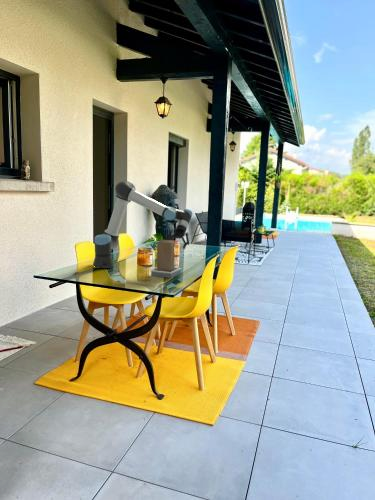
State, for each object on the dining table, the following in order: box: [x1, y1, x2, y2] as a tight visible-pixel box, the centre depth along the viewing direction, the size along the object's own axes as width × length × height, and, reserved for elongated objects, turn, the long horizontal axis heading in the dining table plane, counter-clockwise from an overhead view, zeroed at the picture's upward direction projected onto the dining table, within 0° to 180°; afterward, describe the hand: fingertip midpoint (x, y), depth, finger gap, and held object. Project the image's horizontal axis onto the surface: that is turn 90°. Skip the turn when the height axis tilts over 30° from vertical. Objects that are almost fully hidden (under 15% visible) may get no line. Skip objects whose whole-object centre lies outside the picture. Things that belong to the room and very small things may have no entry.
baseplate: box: [150, 266, 182, 279], centre depth 257 cm, size 15×15×4 cm
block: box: [156, 239, 175, 272], centre depth 255 cm, size 10×10×20 cm
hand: (172, 251), depth 262 cm, fingers open, 13 cm apart
